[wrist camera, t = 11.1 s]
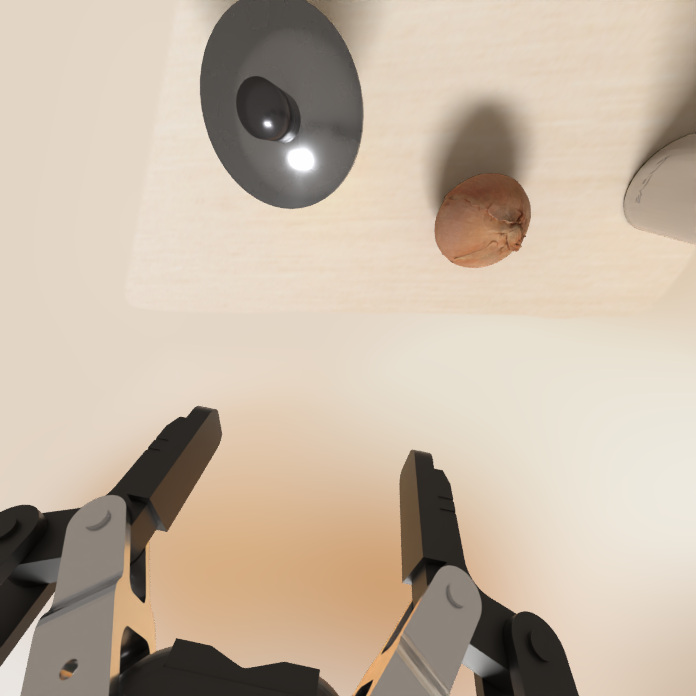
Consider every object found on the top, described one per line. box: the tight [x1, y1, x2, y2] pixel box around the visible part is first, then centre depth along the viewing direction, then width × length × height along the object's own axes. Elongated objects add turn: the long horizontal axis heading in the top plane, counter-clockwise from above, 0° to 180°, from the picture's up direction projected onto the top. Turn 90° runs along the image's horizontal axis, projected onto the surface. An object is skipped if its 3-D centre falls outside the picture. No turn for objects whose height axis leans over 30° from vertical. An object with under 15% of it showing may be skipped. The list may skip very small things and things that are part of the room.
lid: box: [200, 0, 364, 209], centre depth 21 cm, size 13×13×6 cm
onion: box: [435, 173, 531, 268], centre depth 30 cm, size 10×9×10 cm
